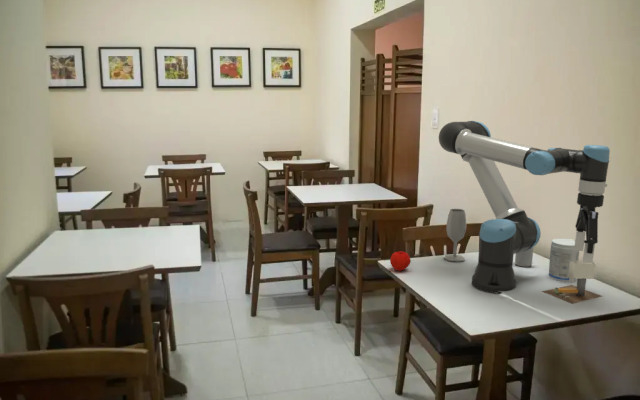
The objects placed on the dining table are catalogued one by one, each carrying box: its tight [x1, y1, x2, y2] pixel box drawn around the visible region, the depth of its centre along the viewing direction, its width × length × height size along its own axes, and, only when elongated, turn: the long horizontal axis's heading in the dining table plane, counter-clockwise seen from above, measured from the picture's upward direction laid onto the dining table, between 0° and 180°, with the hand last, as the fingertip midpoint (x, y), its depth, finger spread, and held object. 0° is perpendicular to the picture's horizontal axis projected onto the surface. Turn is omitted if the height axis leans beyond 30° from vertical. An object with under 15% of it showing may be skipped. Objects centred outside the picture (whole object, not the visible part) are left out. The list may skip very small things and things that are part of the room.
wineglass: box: [443, 208, 467, 263], centre depth 213 cm, size 9×9×21 cm
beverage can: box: [514, 247, 534, 268], centre depth 207 cm, size 6×6×12 cm
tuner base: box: [541, 284, 603, 305], centre depth 174 cm, size 15×12×2 cm
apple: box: [389, 251, 412, 272], centre depth 199 cm, size 8×8×7 cm
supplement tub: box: [548, 238, 580, 283], centre depth 189 cm, size 10×10×15 cm
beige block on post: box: [557, 260, 598, 296], centre depth 172 cm, size 12×3×11 cm, turn 88°
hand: (582, 256), depth 171 cm, fingers open, 13 cm apart
